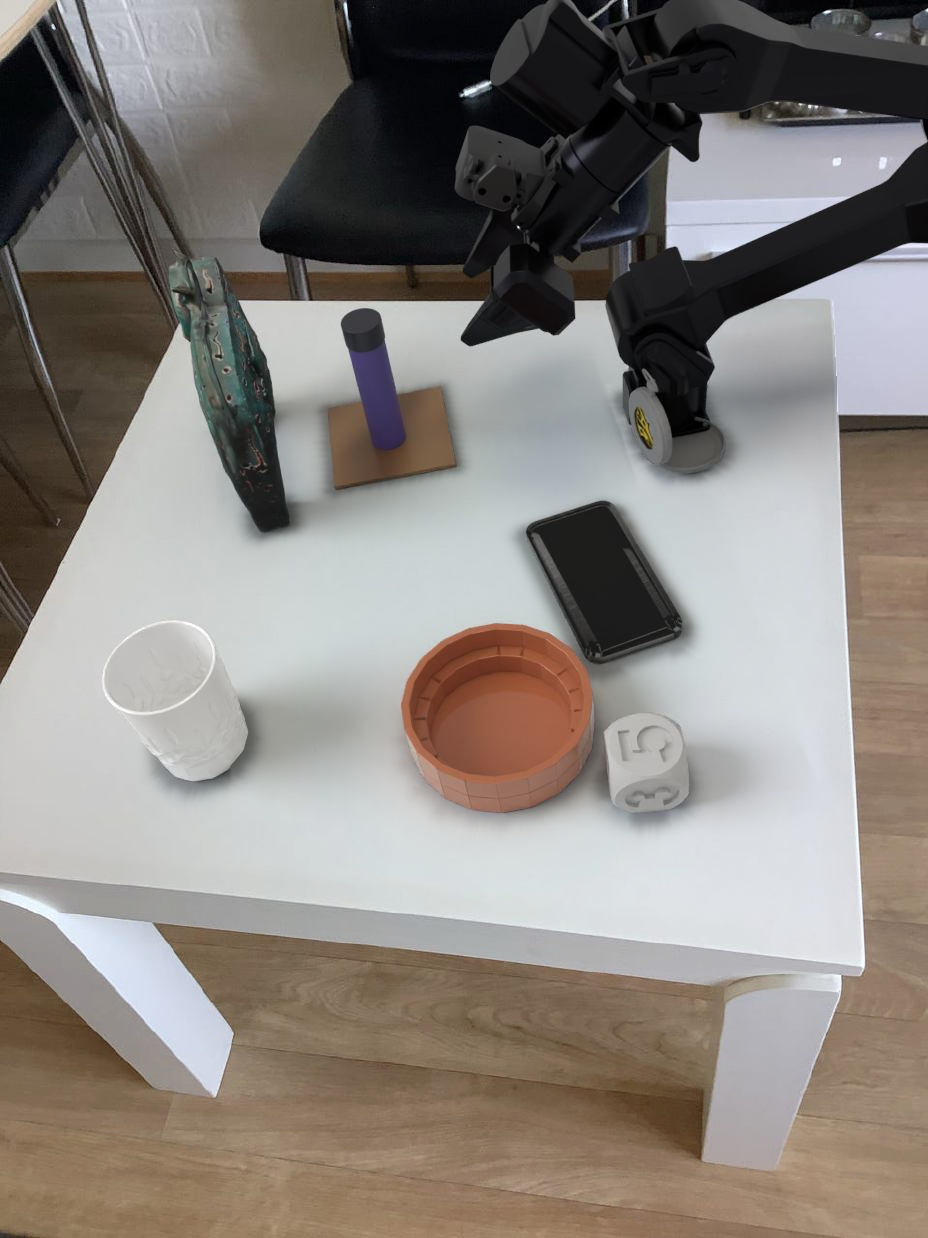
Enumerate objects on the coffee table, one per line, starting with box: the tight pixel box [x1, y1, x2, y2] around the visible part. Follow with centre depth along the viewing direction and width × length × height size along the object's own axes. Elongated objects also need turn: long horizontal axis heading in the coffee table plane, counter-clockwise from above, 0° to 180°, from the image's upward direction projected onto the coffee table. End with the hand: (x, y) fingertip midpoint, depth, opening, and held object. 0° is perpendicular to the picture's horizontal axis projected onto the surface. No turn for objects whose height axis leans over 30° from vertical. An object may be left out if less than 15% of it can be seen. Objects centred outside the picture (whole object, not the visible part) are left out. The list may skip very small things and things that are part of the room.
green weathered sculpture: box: [168, 247, 291, 533], centre depth 90 cm, size 20×6×20 cm, turn 15°
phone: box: [525, 500, 683, 665], centre depth 83 cm, size 8×1×15 cm
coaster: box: [327, 386, 457, 490], centre depth 97 cm, size 11×11×1 cm
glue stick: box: [340, 307, 406, 450], centre depth 92 cm, size 3×3×13 cm
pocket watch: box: [629, 368, 727, 474], centre depth 88 cm, size 8×8×10 cm
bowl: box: [400, 622, 596, 813], centre depth 74 cm, size 13×13×4 cm
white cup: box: [101, 619, 249, 782], centre depth 75 cm, size 8×8×10 cm
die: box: [602, 712, 690, 814], centre depth 70 cm, size 5×5×5 cm
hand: (465, 307), depth 86 cm, fingers open, 9 cm apart
